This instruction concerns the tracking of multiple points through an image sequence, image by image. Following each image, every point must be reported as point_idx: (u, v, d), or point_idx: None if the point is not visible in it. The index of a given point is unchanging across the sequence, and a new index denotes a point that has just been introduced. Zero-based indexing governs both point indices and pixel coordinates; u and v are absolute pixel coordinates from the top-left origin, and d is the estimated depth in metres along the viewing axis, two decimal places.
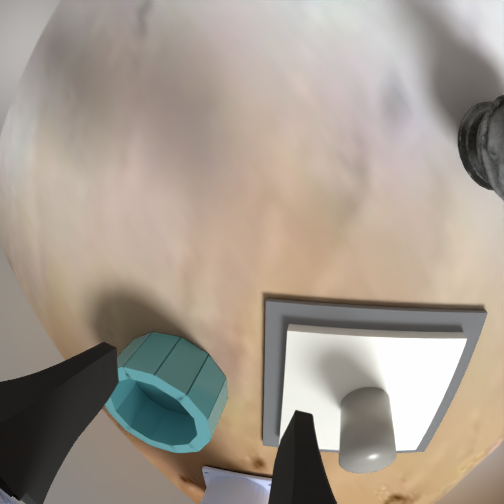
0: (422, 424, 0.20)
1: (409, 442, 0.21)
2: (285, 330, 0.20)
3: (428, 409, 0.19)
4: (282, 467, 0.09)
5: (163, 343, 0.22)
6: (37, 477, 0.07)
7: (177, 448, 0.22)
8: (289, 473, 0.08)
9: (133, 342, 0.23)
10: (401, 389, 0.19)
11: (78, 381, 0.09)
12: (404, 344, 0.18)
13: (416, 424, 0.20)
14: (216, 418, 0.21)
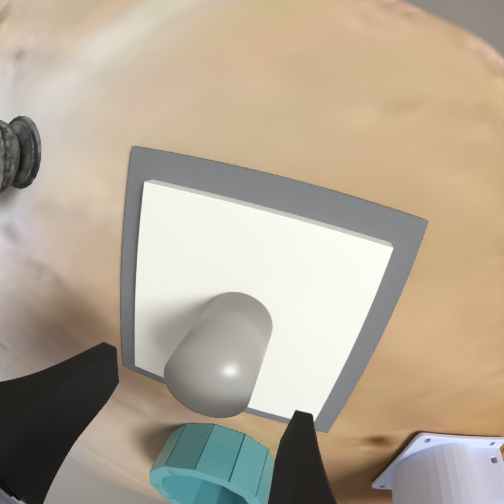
0: (312, 239, 0.14)
1: (363, 261, 0.14)
2: None
3: (273, 231, 0.14)
4: (282, 467, 0.09)
5: None
6: (37, 477, 0.07)
7: None
8: (289, 473, 0.08)
9: None
10: (215, 274, 0.16)
11: (78, 381, 0.09)
12: (144, 267, 0.17)
13: (308, 250, 0.14)
14: (224, 460, 0.19)
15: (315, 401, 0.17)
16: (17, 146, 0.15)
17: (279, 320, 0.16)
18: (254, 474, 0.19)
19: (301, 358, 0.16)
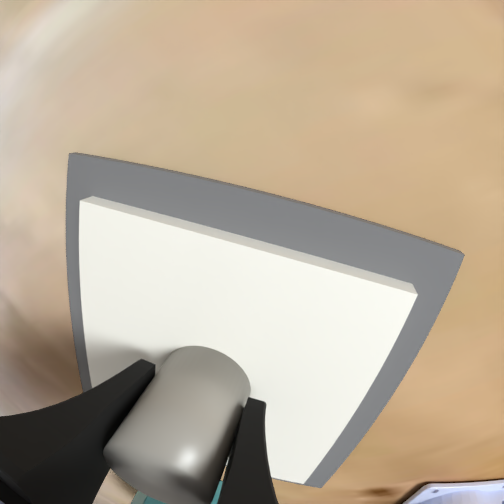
0: (303, 283, 0.10)
1: (375, 312, 0.10)
2: None
3: (247, 270, 0.10)
4: (231, 454, 0.09)
5: None
6: None
7: None
8: (233, 459, 0.08)
9: None
10: (173, 323, 0.11)
11: (120, 403, 0.09)
12: (90, 307, 0.12)
13: (297, 298, 0.10)
14: None
15: (306, 464, 0.13)
16: None
17: (258, 381, 0.12)
18: None
19: (288, 423, 0.12)
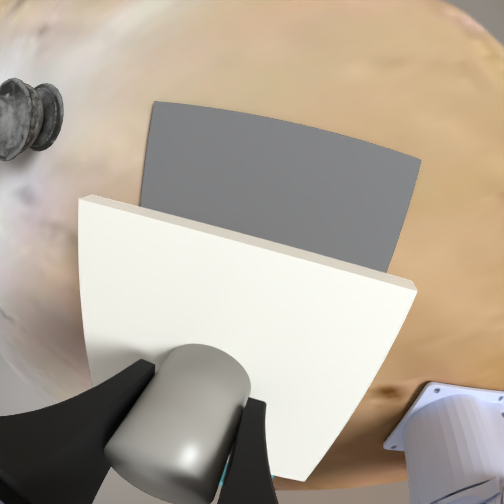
0: (303, 280, 0.10)
1: (374, 309, 0.10)
2: None
3: (246, 268, 0.10)
4: (231, 454, 0.09)
5: None
6: None
7: None
8: (233, 459, 0.08)
9: None
10: (173, 321, 0.11)
11: (120, 403, 0.09)
12: (89, 305, 0.12)
13: (297, 295, 0.10)
14: None
15: (307, 461, 0.13)
16: (42, 107, 0.17)
17: (258, 379, 0.12)
18: None
19: (288, 420, 0.12)
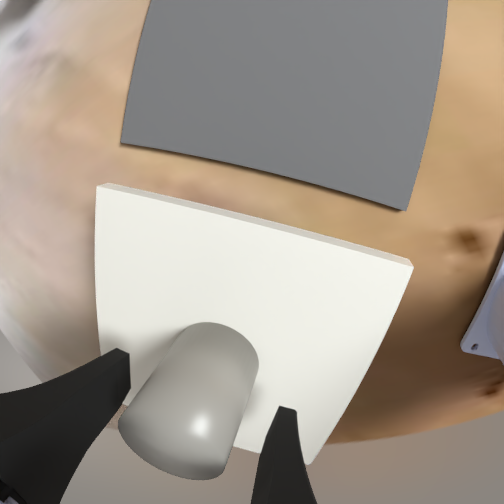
0: (308, 257, 0.11)
1: (374, 284, 0.10)
2: (155, 122, 0.15)
3: (255, 246, 0.11)
4: (264, 463, 0.09)
5: None
6: (51, 487, 0.07)
7: None
8: (269, 469, 0.08)
9: None
10: (185, 301, 0.12)
11: (92, 389, 0.09)
12: (103, 289, 0.13)
13: (302, 272, 0.11)
14: None
15: (312, 443, 0.14)
16: None
17: (266, 356, 0.12)
18: None
19: (295, 399, 0.13)
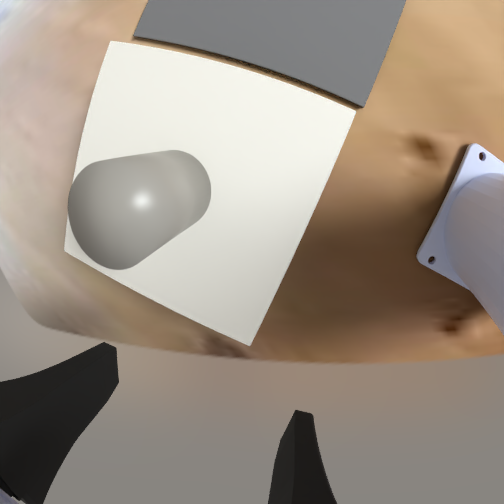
0: (265, 92, 0.12)
1: (320, 121, 0.12)
2: (165, 21, 0.16)
3: (224, 82, 0.12)
4: (282, 467, 0.09)
5: None
6: (37, 477, 0.07)
7: None
8: (289, 473, 0.08)
9: None
10: (158, 130, 0.13)
11: (78, 381, 0.09)
12: (91, 126, 0.14)
13: (260, 104, 0.12)
14: None
15: (254, 310, 0.15)
16: None
17: (218, 186, 0.14)
18: None
19: (240, 242, 0.14)
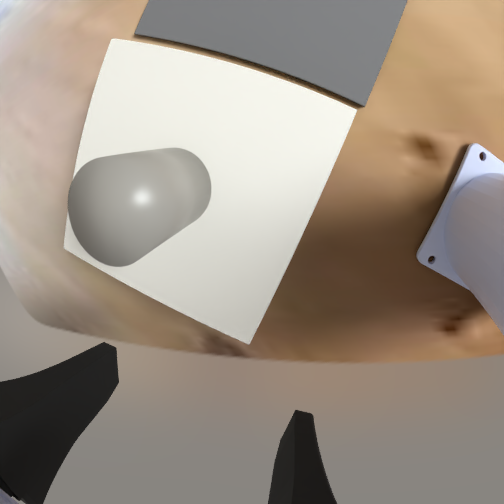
0: (266, 90, 0.12)
1: (321, 119, 0.12)
2: (166, 19, 0.16)
3: (225, 79, 0.12)
4: (282, 467, 0.09)
5: None
6: (37, 477, 0.07)
7: None
8: (289, 473, 0.08)
9: None
10: (158, 127, 0.13)
11: (78, 381, 0.09)
12: (91, 123, 0.14)
13: (260, 102, 0.12)
14: None
15: (253, 309, 0.15)
16: None
17: (219, 184, 0.14)
18: None
19: (240, 240, 0.14)
